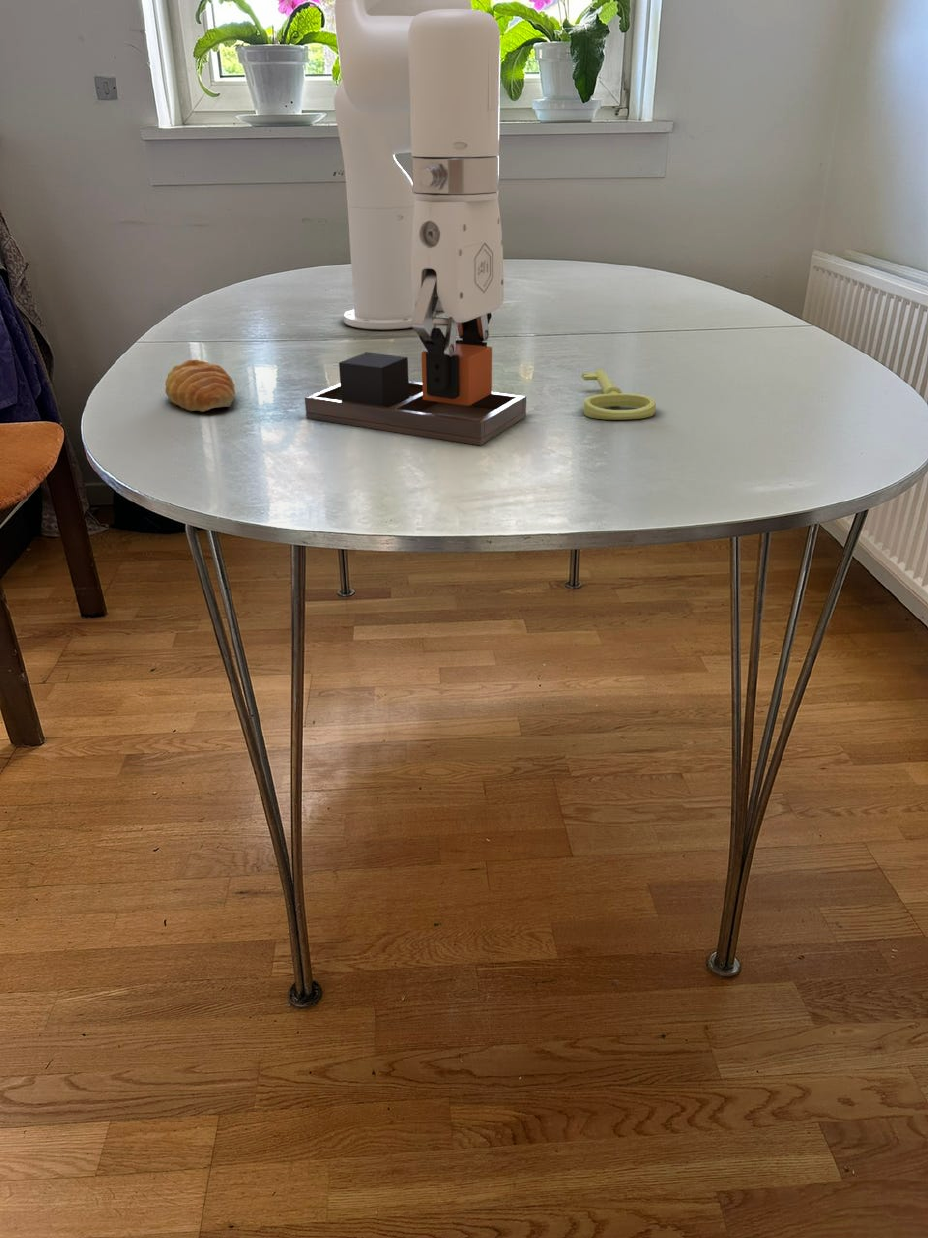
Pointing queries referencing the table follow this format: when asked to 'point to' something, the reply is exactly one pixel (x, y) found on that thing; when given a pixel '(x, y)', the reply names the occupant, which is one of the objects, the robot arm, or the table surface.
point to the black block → (374, 379)
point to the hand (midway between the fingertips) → (457, 387)
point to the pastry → (199, 386)
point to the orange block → (467, 375)
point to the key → (615, 401)
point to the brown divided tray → (423, 415)
